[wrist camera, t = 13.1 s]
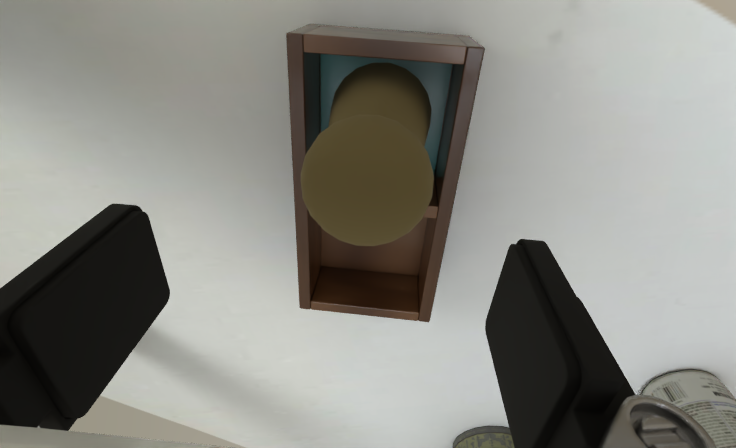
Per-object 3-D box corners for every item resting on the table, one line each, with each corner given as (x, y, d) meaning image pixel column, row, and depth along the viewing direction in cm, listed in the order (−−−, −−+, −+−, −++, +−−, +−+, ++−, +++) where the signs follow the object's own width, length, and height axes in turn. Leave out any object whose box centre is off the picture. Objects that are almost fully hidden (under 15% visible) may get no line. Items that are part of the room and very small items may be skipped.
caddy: (314, 264, 31) (299, 308, 27) (309, 23, 22) (285, 32, 18) (426, 276, 31) (429, 322, 26) (470, 35, 21) (485, 47, 17)
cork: (336, 53, 21) (281, 104, 12) (442, 71, 21) (470, 136, 12) (326, 154, 25) (277, 256, 15) (419, 170, 25) (427, 281, 15)
